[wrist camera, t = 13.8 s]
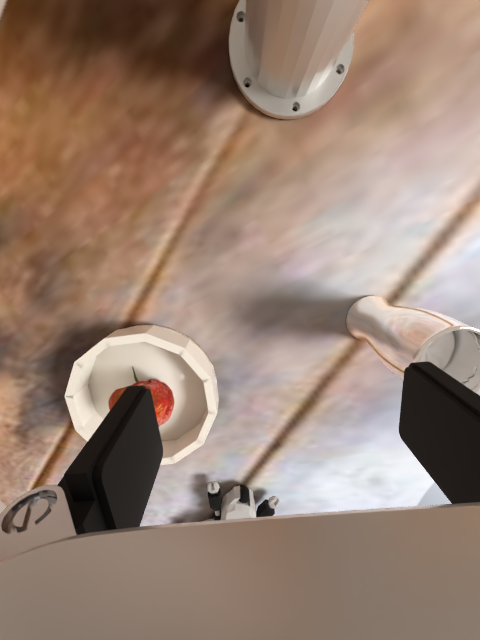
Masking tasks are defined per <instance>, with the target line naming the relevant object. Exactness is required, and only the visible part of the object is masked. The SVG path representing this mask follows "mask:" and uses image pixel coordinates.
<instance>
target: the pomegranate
mask: <svg viewBox="0 0 480 640" xmlns="http://www.w3.org/2000/svg"><path fill="white" fill-rule="evenodd" d="M132 369H133V373H134V379H135V381H136V383H134V384H133V385H130V386H138V385H144V386H145V387H146V389H150V390H151V394H152V398H153V403H154V408H155V412H156V417H157V422H158V426H160V425H162V424H164V423H165V422H166V421H168V420H169V418H170V416H171V414H172V411H173V408H174V397H173V393H172V390H171V389H170V388H169V386H168V385H167V384H165V383H164V382H161V381H159V380H157V379H150V380H148V381H140V382H139V381H138V379H137V377H136V374H135V371H134V368H133V367H132ZM127 387H128V386H127ZM127 387H123V388H120V389H116V390H115V391H114V392H113V393H112V395H111V396H110V398H109V402H108V403H109V409H110V410H111V409H112V407H113V406H114V404H115V403H116V402H117V400H118V399H119V397H120V396H121V395H122V393H123V392H124V391H125V389H126V388H127Z"/></svg>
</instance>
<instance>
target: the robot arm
mask: <svg viewBox="0 0 480 640" xmlns="http://www.w3.org/2000/svg"><path fill="white" fill-rule="evenodd" d="M368 2H369V0H239V2H238V4H237V6H236V8H235V11H234V14H233V17H232V21H231V25H230V33H229V56H230V65H231V69H232V72H233V76H234V79H235V81H236V83H237V85H238V87H239V90H240V91H241V92H242V94H243V95H244V97H245V98H246V100H247V101H248V102H249V103H250V104H252V105H253V106H254V107H255V108H256V109H257V110H259V111H261V112H262V113H264V114H265V115H268V116H271V117H274V118H278V119H285V120H288V119H298V118H301V117H305V116H308V115H310V114H312V113H313V112H315V111H317V110H319V109H320V108H321V107H322V106H324V105H325V104H326V103H327V102H328V101H329V100H330V99H331V98H332V96H333V95H334V94H335V93H336V91H337V90H338V88H339V87H340V85H341V84H342V82H343V80H344V78H345V76H346V74H347V72H348V69H349V65H350V62H351V59H352V54H353V47H354V28H355V26H356V24H357V22H358V20H359V19H360V17H361V15H362V13H363V11H364V9H365V7H366V6H367V4H368ZM240 21H242V22H240ZM337 72H339V74H338V73H337ZM246 85H249V86H250V87H248V88H247V87H245V86H246ZM293 108H295V109H296V112H295V111H293V110H292V109H293ZM399 433H400V436H401V439H402V440H403V441H404V443H405V444H406V445H407V447H408V448H409V449H410V450H411V452H412V453H413V454H414V456H415V457H416V458H417V459H418V461H419V462H420V463H421V465H422V466H423V467H424V468H425V470H426V471H427V472H428V473H429V475H430V476H431V477H432V479H433V480H434V481H435V482H436V484H437V485H438V486H439V488H440V489H441V490H442V491H443V493H444V494H445V495H446V496H447V498H448V499H449V500H450V501H451V503H452V504H444V505H428V506H413V507H397V508H382V509H367V510H353V511H338V512H324V513H310V514H296V515H282V516H268V517H255V518H242V519H229V520H216V521H203V522H190V523H177V524H166V525H154V526H143V527H139V526H140V523H141V520H142V517H143V514H144V511H145V508H146V505H147V502H148V499H149V496H150V493H151V490H152V487H153V484H154V481H155V479H156V476H157V473H158V470H159V467H160V464H161V461H162V458H163V445H162V440H161V436H160V431H159V426H158V422H157V417H156V412H155V408H154V403H153V398H152V394H151V390H150V389H146V387H145V386H144V385H138V386H128V387H127V388H126V389H125V391H124V392H123V393H122V395H121V396H120V397H119V399H118V400H117V402H116V403H115V404H114V406H113V407H112V409H111V410H110V411H109V413H108V414H107V416H106V417H105V418H104V420H103V421H102V422H101V424H100V425H99V427H98V428H97V429H96V431H95V432H94V434H93V435H92V436H91V438H90V439H89V441H88V442H87V443H86V445H85V446H84V447H83V449H82V450H81V452H80V453H79V454H78V456H77V457H76V459H75V460H74V461H73V463H72V464H71V466H70V467H69V468H68V470H67V471H66V473H65V474H64V477H63V478H62V480H61V481H60V482H59V484H58V485H45V486H41V487H38V488H35V489H33V490H31V491H28V492H27V493H25V494H23V495H22V496H20V497H18V498H17V499H16V500H14V501H13V502H12V503H11V504H9V505H8V506H7V507H6V508H5V510H4V511H3V512H2V513H1V514H0V640H480V396H479V395H478V394H476V393H475V392H473V391H472V390H471V389H469V388H468V387H466V386H465V385H463V384H462V383H460V382H459V381H457V380H456V379H454V378H453V377H452V376H450V375H449V374H447V373H446V372H444V371H443V370H441V369H440V368H438V367H437V366H436V365H434V364H433V363H431V362H429V361H426V362H414V363H410V365H409V367H406V368H405V370H404V379H403V390H402V401H401V412H400V422H399Z"/></svg>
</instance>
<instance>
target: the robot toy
mask: <svg viewBox="0 0 480 640" xmlns="http://www.w3.org/2000/svg"><path fill="white" fill-rule="evenodd" d="M213 484H214V485H213V486H212V484H211V482H209V483H208V484H207V490H208V498H209V504H210V508H211V509H213V510H214V511H215V512H214V514H213V518H214V519H208V520H205V521H216V520H229V519H242V518H255V517H268V516H272V515H274V509H275V508H278V507H279V505H280V500H279V499H277V497H276V496H272V497H270V498H269V501H268V500H266V499H265V500H264V501H263V502H262V503H261V504H260V505H259V506H258V508H257V511H256V507H255V500H254V497H253V491H252V490H251V489H250V488H249V489H248V488H247V487H241V488H240V486H235V487H234V488H233V489H232V490H231V491H230V492H228V493H226V495H225V496H224V497H223V501H222V498H221V492H220V488H219V484H218V482H216V481H214V483H213ZM221 504H222V506H221ZM220 507H221V511H220ZM202 522H203V521H202Z"/></svg>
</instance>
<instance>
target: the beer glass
mask: <svg viewBox="0 0 480 640" xmlns="http://www.w3.org/2000/svg"><path fill="white" fill-rule="evenodd" d="M346 323H347V328H348V330H349V332H350V333H351V334H352V335H353V336H354V337H355V338H357V339H358V340H361V341H364V342H367V343H368V344H369V345H370V346H371V348H372V349H373V351H374V352H375V354H376V355H377V356H378V358H379V359H380V360H381V361H382V363H383V364H384V365H385V366H386V367H387V368H388V369H389V370H390V371H392V372H393V373H394V374H395V375H396V376H398V377H399V378H400V379H402V380H403V379H404V370H405V368H406V367H409V365H410V363H414V362H426V361H429V362H431V363H433V364H434V365H436V366H437V367H438V368H440V369H441V370H443V371H444V372H446V373H447V374H449V375H450V376H452V377H453V378H454V379H456V380H457V381H459V382H460V383H462V384H463V385H465V386H466V387H468V388H469V389H471V390H472V391H473V392H475V393H476V392H477V391H479V390H480V330H479V329H477V328H475V327H471V326H469V325H467V324H465V323H463V322H461V321H459V320H456V319H454V318H452V317H449V316H447V315H444V314H441V313H438V312H435V311H431V310H428V309H422V308H416V307H404V306H393V305H392V304H390V303H389V302H388V301H387V300H385V299H384V298H382V297H379V296H366V297H363V298H361V299H359V300H358V301H356V302H355V303H354V304H353V305H352V306H351V308H350V309H349V311H348V314H347V318H346Z"/></svg>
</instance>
